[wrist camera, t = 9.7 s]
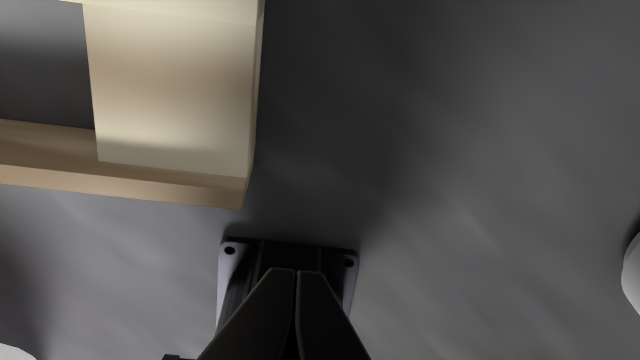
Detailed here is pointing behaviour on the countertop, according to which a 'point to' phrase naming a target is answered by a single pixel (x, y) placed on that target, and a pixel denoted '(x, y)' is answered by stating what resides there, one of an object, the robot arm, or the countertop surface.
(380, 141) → the countertop surface
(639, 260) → the energy drink can
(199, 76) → the box
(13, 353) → the beverage cup
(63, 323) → the countertop surface
